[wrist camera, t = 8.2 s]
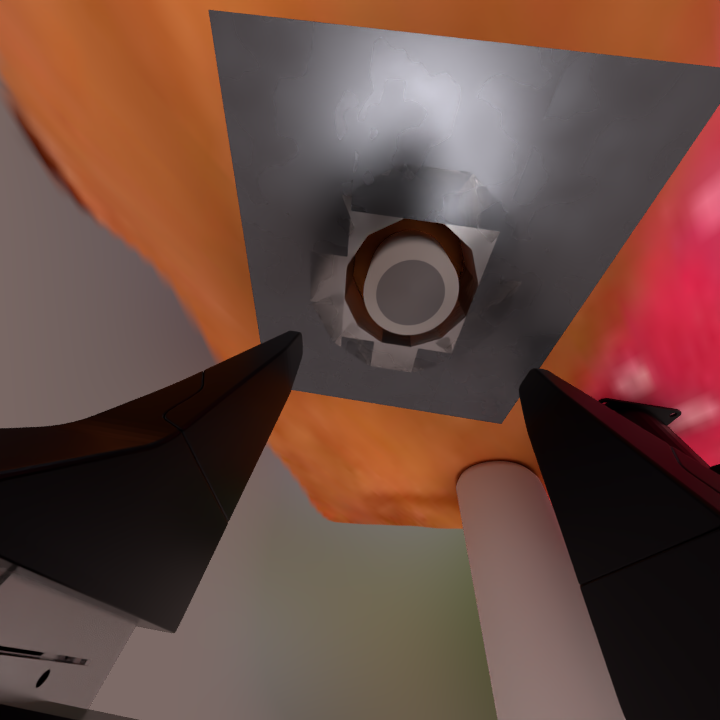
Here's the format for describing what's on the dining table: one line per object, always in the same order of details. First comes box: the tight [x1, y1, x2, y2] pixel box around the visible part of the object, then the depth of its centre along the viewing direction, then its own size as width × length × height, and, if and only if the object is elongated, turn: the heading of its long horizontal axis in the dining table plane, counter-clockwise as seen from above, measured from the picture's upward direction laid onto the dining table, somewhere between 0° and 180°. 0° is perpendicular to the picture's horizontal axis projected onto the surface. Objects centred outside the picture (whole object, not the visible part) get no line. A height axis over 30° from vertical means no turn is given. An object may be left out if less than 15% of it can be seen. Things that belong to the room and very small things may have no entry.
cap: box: [363, 230, 459, 335], centre depth 15 cm, size 5×5×4 cm
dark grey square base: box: [209, 10, 720, 424], centre depth 15 cm, size 18×18×4 cm
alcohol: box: [456, 461, 626, 720], centre depth 18 cm, size 9×9×30 cm
